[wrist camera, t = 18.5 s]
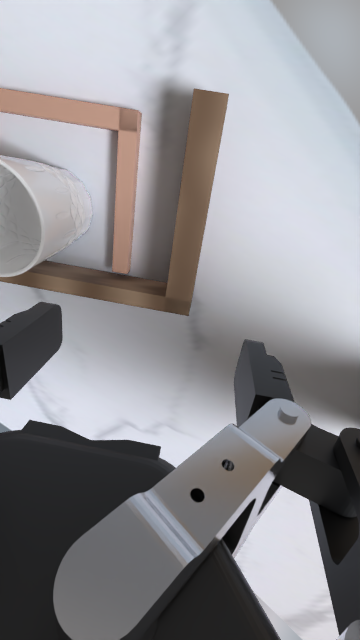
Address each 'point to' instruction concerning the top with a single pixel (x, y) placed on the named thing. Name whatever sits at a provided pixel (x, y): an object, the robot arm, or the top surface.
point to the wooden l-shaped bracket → (187, 232)
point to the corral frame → (127, 153)
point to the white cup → (38, 213)
